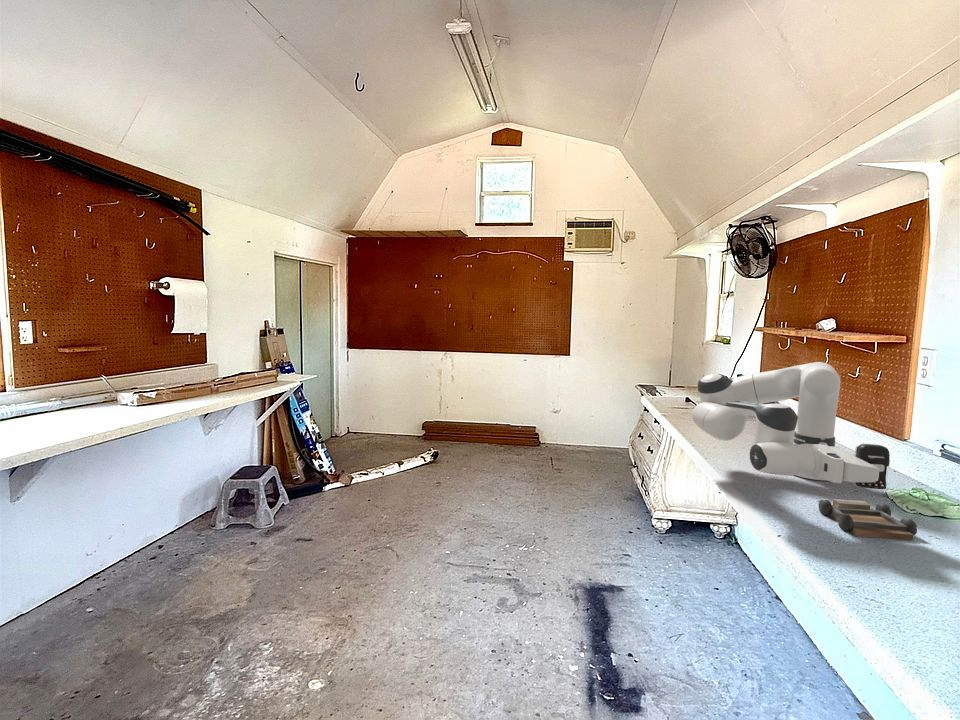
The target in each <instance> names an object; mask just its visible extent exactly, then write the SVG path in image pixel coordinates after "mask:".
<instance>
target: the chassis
mask: <svg viewBox="0 0 960 720" xmlns="http://www.w3.org/2000/svg"><path fill="white" fill-rule="evenodd" d="M818 510H819V513H820V514H821V515H824V516H829V517H830V518H832V519H833V520H834V521H836V522H837V524H838V527H839V528H841V529H842V530H841V529H840V530H841V531H847V532H850V533H851V534H853V535H854V536H855V537H859V538H860V537H864V538H865V537H866V538H873V537H875V538H876V539H886V538H888V540H899V539H900V540H899V541H912V540H913V541H914V538H915V536H916V535H917V533H918V525H917V523H916V521H914V519H911V518H901V519H900V521H899V520H898V519H896V518H894V517H892V510H891V507H890V506H889V504H886V503H877V504H876V506H875V508H873V507H871V505H870V503H867V502H866V501H863V500H849V499H838V498H837V499H836V498H833V499H832V502H831V501H830V500H827V499H820V500H819V501H818Z"/></svg>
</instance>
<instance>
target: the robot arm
mask: <svg viewBox="0 0 960 720" xmlns="http://www.w3.org/2000/svg"><path fill="white" fill-rule="evenodd" d="M840 389H841V377H840V375H839V373H838V372H837V370H836V369H835V367H833V366H832V365H830V364H828V363H827V362H822V361H815V362H810V363H804V364H798V365H793V366H790V367H784V368H780V369H773V370H767V371H761V372H755V373H750V374H744V375H739V376H737V377H733V378H730V377H727V376H726V375H724V374H721V373H710V374H706V375H704V376H702V377H701V378H699V380H698V381H697V392H699V400H700V403H698V404H697V405H696V406H695V407H694V408H693V409H692V413H691V419H692V421H693V423H694V424H695V425H696V427H698V428H699V429H700V430H701V431H702V432H704V433H705V434H707V435H708V436H710V437H712V438H714V439H716V440H718V441H722V442H727V441H731V440H734V439H736V438H738V437H739V436H740V435H741V434H742V433H743V431H744V430H745V427H746V425H747V421H748V419H749V417H755V431H754V440H753V445H752V446H751V448H750V449H749V460H750V464H751V466H752V467H753V468H754V469H755V470H756V471H758V472H761V473H766V474H769V475H777V476H778V475H779V476H783V477H784V476H785V477H787V476H788V477H789V476H790V477H792V476H796V477H800V478H804V479H808V480H814V481H815V480H816V481H828V482H831V483H833V484H842V483H843V482H846V483H847V482H848V483H854V482H867V483H871V482H876V481H878V478H879V472H883V471H884V468H885V466H884V465H882V464H880V463H874V464H870V463H868V462H866V461H864V460H862V459H860V458H858V457H856V456H855V454H852V453H850V452H847V451H845V450H843V449H841V448H840V447H837V446H836V437H835V429H836V417H837V411H838V410H837V409H838V404H839V399H840V398H839V397H840ZM796 398H798V405H797V413H796V412H795V410H794V409H793V408H792V407H791V406H789V405H785V404H782V403H775V402H782V401H787V400H791V399H796Z"/></svg>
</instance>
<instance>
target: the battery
mask: <svg viewBox="0 0 960 720" xmlns="http://www.w3.org/2000/svg"><path fill="white" fill-rule="evenodd" d="M890 454H891V453H890V450H889V449H888V447H886V446H883V445H882V444H881V445H880V444H874V443H859V444H856V447H855V450H854V455H855V456H856V457H858V458H860V459H862V460H864V461H866V462H868V463H870V464H874V463H880V464H882V465H884V466H885V468H884V471H883V472H879V478H878V481H876V482H871V483H867V482H853V484H854V486H857V487H859V488H863V489H864V488H865V489H872V490H873V489H874V490H875V489H876V490H886V489H887V472H888V471H887V470H888V467H890V462H891V461H890V457H891V456H890Z"/></svg>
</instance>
